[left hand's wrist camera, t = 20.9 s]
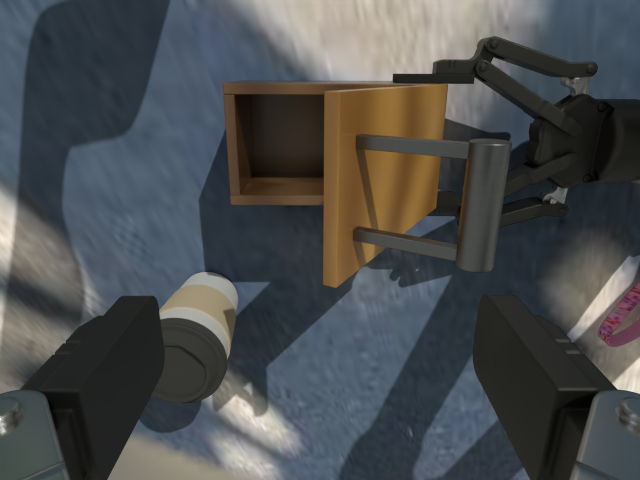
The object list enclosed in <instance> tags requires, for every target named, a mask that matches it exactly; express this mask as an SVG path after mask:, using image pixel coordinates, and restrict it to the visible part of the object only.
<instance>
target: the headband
mask: <svg viewBox="0 0 640 480" xmlns="http://www.w3.org/2000/svg"><path fill="white" fill-rule="evenodd" d="M639 302H640V282H639V283H638V284H637V285H636V286H635V287H634V288H633V289H632V290H631V291H630V292H629V293H628V294H627V295H626V296H625V297H624V298H623V299H622V300H621V302H620V303H619V304H618V305H617V306H616V307H615V308H614V310H613V311H612V312H611V313H610V314H609V315H608V317H607V318H606V319H605V321H604V322H603V323H602V325H601V327H600V328H599V331H598V336H599V337H600V338H601V339H602V340H604V341H605V342H606V343H607V344H608V345H609V346H611V347H616V346H620V345H623V344H626V343H628V342H630V341H632V340H634V339H636V338H638V337H639V336H640V319H639V320H637V321H636V322H635V323H633V324H632V325H631V326H629V327H627V328H626V329H624V330H622V331H620V332H618V333H616V334H614V335H612V333H613V332H614V330H615V329H616V328H617V327H618V325H619V324H620V323H621V322H622V321H623V319H624V318H625V317H626V316H627V315H628V314H629V313H630V311H631V310H632V309H633V308H634V307H635V306H636V305H637V304H638V303H639Z"/></svg>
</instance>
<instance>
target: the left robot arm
mask: <svg viewBox="0 0 640 480" xmlns="http://www.w3.org/2000/svg"><path fill="white" fill-rule="evenodd" d="M164 362H165V349H164V342H163V335H162V328H161V321H160V314H159V307H158V302H157V300H156V298H155V297H154V296H121V297H120V298H119V299H118V300H117V301H116V302H115V303H114V305H113V306H112V307H111V308H110V309H109V310H108V311H107V312H106V314H105V315H104V316H97V317H95V318H94V319H92V320H90V321H89V322H87V323H85V324H84V325H82V326H80V327H79V328H78V329H77V330H76V331H75V332H74V333H73V334H72V335H71V336H70V337H69V338H68V339H67V340H66V343H63V344H62V346H61V347H60V348H59V349H58V350H57V351H56V352H55V355H52V356H51V357H50V358H49V359H48V360H47V361H46V362H45V364H44V365H43V366H42V367H41V368H40V369H39V370H38V371H37V372H36V373H35V374H34V375H33V376H32V377H31V378H30V379H29V380H28V382H27V383H26V384H25V385H24V386H23V387H22V388H21V389H20V390H15V391H10V392H6V393H2V394H0V480H107V479H108V477H109V475H110V473H111V471H112V469H113V467H114V465H115V463H116V461H117V460H118V458H119V456H120V454H121V452H122V450H123V448H124V446H125V444H126V442H127V441H128V439H129V437H130V435H131V433H132V431H133V429H134V427H135V425H136V423H137V421H138V420H139V418H140V416H141V414H142V412H143V410H144V408H145V406H146V404H147V402H148V400H149V398H150V397H151V395H152V393H153V391H154V389H155V387H156V385H157V383H158V381H159V379H160V377H161V375H162V372H163V368H164ZM473 364H474V369H475V373H476V375H477V377H478V379H479V381H480V383H481V385H482V387H483V389H484V391H485V393H486V395H487V397H488V399H489V401H490V402H491V404H492V406H493V408H494V410H495V412H496V414H497V416H498V418H499V420H500V422H501V424H502V426H503V428H504V430H505V432H506V433H507V435H508V437H509V439H510V441H511V443H512V445H513V447H514V449H515V451H516V453H517V455H518V457H519V459H520V461H521V463H522V464H523V466H524V468H525V470H526V472H527V474H528V476H529V478H530V480H640V394H638V393H634V392H630V391H625V390H617V389H616V388H615V386H614V385H613V384H612V383H611V382H610V381H609V380H608V379H607V378H606V377H605V376H604V375H603V374H602V373H601V372H600V370H599V369H598V368H597V367H596V366H595V365H594V364H593V363H592V362H591V361H590V360H589V359H588V358H587V357H586V356H585V354H582V353H581V350H580V349H579V348H578V347H577V346H576V345H575V344H574V343H571V339H570V338H569V337H568V336H567V335H566V334H565V333H564V332H563V331H562V330H561V329H560V328H559V327H558V326H557V325H555V324H553V323H552V322H550V321H548V320H547V319H545V318H543V317H541V316H540V315H533V314H532V313H531V312H530V310H529V309H528V308H527V307H526V306H525V305H524V304H523V302H522V301H521V300H520V299H519V298H518V297H517V296H515V295H484V296H483V297H482V298H481V300H480V304H479V310H478V317H477V324H476V331H475V338H474V346H473Z"/></svg>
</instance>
